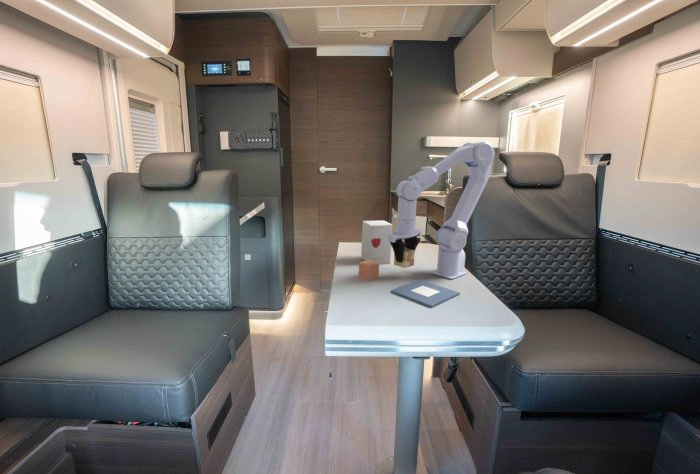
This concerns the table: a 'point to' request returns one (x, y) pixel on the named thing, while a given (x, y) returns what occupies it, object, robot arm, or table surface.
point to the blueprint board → (425, 293)
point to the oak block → (406, 259)
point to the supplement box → (376, 241)
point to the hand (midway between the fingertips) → (404, 260)
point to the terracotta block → (368, 270)
